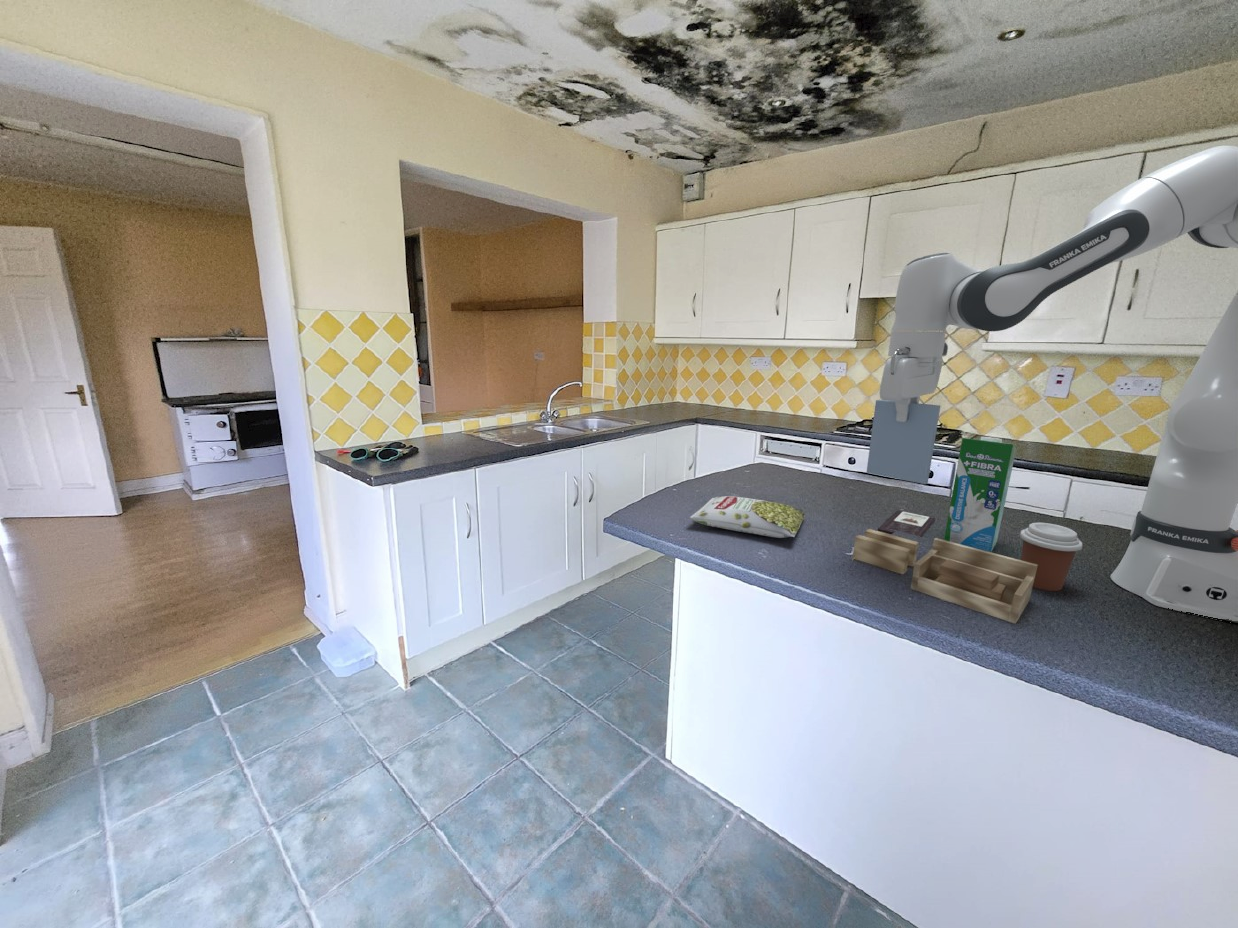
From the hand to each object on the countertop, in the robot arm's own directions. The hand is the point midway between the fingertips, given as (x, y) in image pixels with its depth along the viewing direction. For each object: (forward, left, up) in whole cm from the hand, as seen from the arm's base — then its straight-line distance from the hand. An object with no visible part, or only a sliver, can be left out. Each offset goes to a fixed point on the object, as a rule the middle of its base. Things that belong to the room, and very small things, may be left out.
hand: (904, 420), depth 99 cm
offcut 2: (-16, +5, -28) cm, 33 cm away
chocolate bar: (+5, -28, -32) cm, 43 cm away
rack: (-16, +3, -31) cm, 35 cm away
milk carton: (-9, -27, -31) cm, 42 cm away
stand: (0, 0, -31) cm, 31 cm away
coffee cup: (-24, -12, -31) cm, 41 cm away
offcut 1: (-16, +5, -26) cm, 31 cm away
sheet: (0, 0, -12) cm, 12 cm away
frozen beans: (+32, +1, -31) cm, 45 cm away
